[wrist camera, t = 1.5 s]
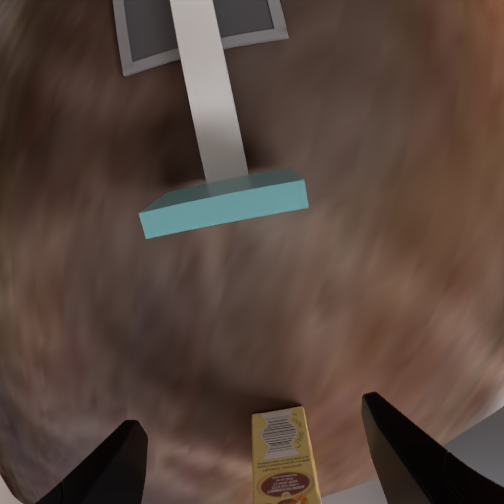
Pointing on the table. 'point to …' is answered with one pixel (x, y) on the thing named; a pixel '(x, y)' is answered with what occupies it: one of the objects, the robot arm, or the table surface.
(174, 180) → the table surface
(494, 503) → the robot arm
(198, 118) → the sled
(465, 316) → the table surface
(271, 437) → the candy box
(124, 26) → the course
